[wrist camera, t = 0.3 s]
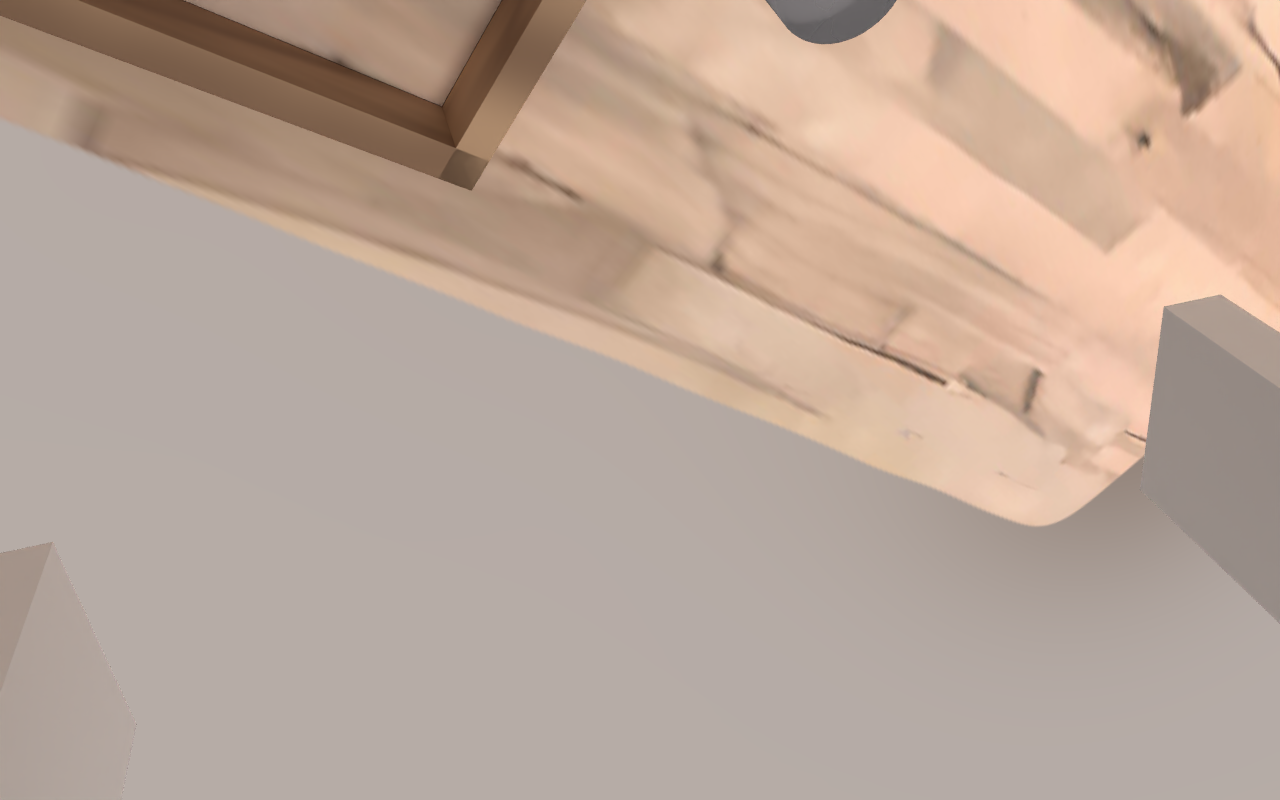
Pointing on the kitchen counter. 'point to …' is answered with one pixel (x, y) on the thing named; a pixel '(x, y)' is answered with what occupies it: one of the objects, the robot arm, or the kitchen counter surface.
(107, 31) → the bay
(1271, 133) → the kitchen counter surface
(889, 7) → the spacers
